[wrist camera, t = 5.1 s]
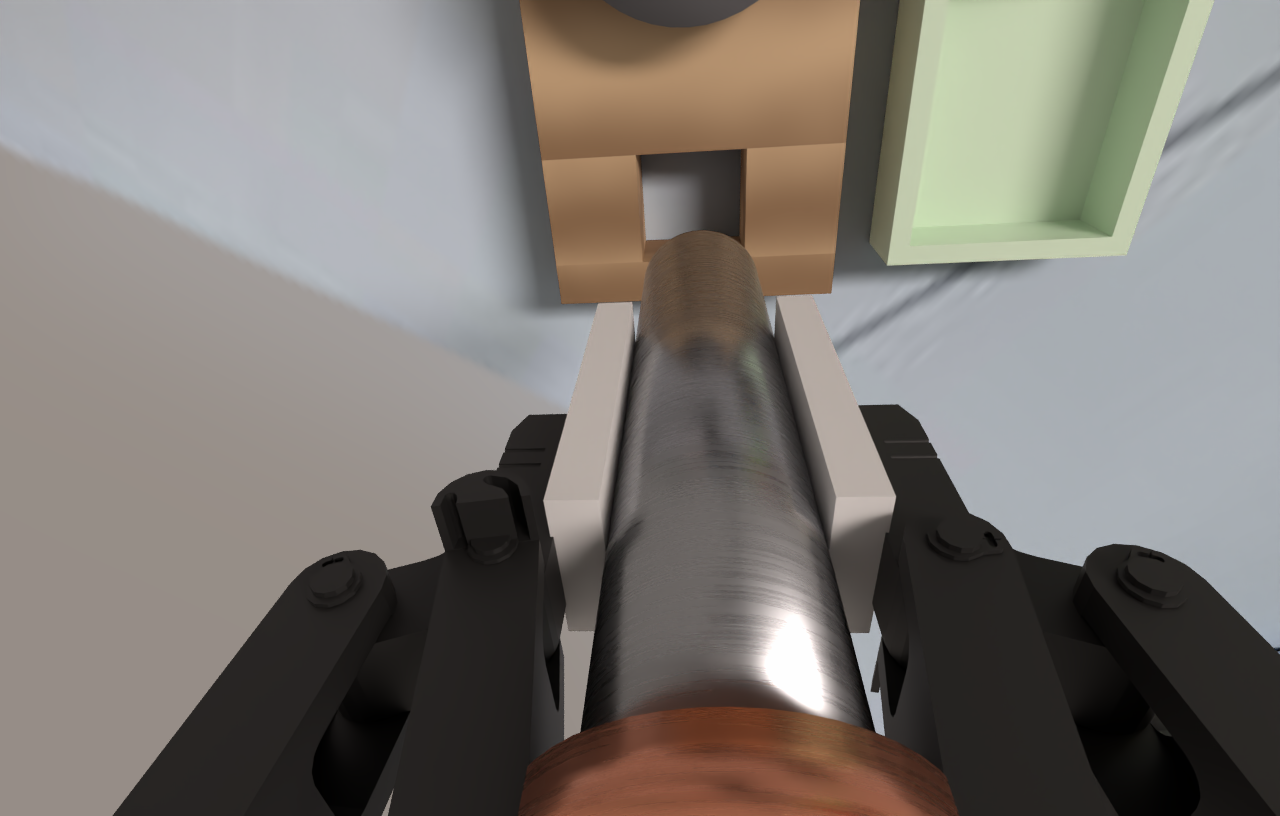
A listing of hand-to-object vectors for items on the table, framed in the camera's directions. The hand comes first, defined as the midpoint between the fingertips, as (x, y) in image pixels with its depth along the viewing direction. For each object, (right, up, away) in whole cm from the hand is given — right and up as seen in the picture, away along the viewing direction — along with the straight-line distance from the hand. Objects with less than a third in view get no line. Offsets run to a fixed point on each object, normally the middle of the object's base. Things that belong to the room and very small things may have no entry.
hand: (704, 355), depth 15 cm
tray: (+14, +12, +12) cm, 21 cm away
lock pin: (0, +2, +3) cm, 4 cm away
